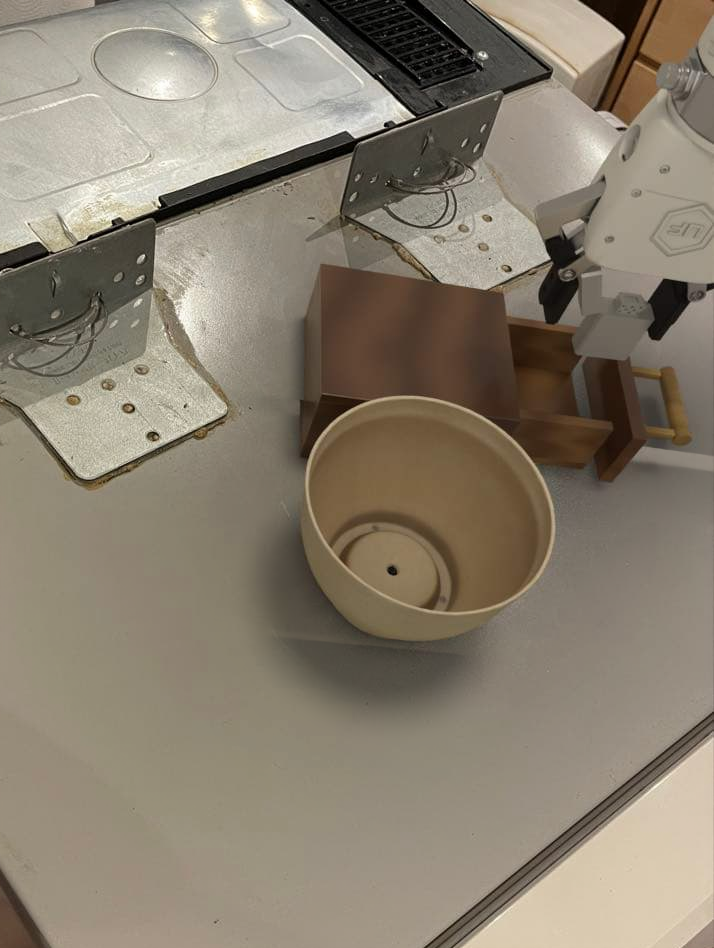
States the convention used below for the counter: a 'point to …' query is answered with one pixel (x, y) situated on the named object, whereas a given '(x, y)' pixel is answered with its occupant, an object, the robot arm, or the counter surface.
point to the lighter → (609, 319)
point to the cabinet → (403, 347)
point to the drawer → (610, 399)
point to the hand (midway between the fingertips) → (600, 316)
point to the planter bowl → (423, 518)
